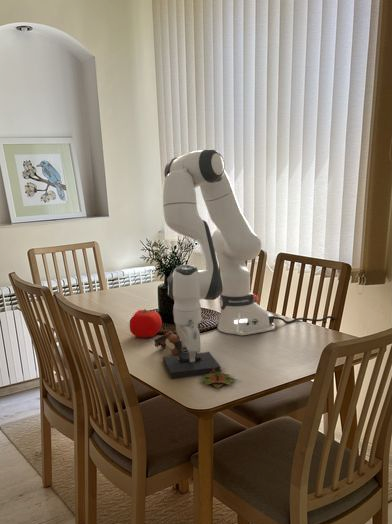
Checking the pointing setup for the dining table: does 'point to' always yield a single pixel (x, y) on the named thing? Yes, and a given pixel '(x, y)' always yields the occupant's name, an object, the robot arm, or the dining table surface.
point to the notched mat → (191, 366)
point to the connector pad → (187, 357)
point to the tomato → (145, 323)
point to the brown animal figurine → (172, 339)
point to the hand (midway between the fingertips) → (188, 356)
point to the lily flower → (217, 378)
